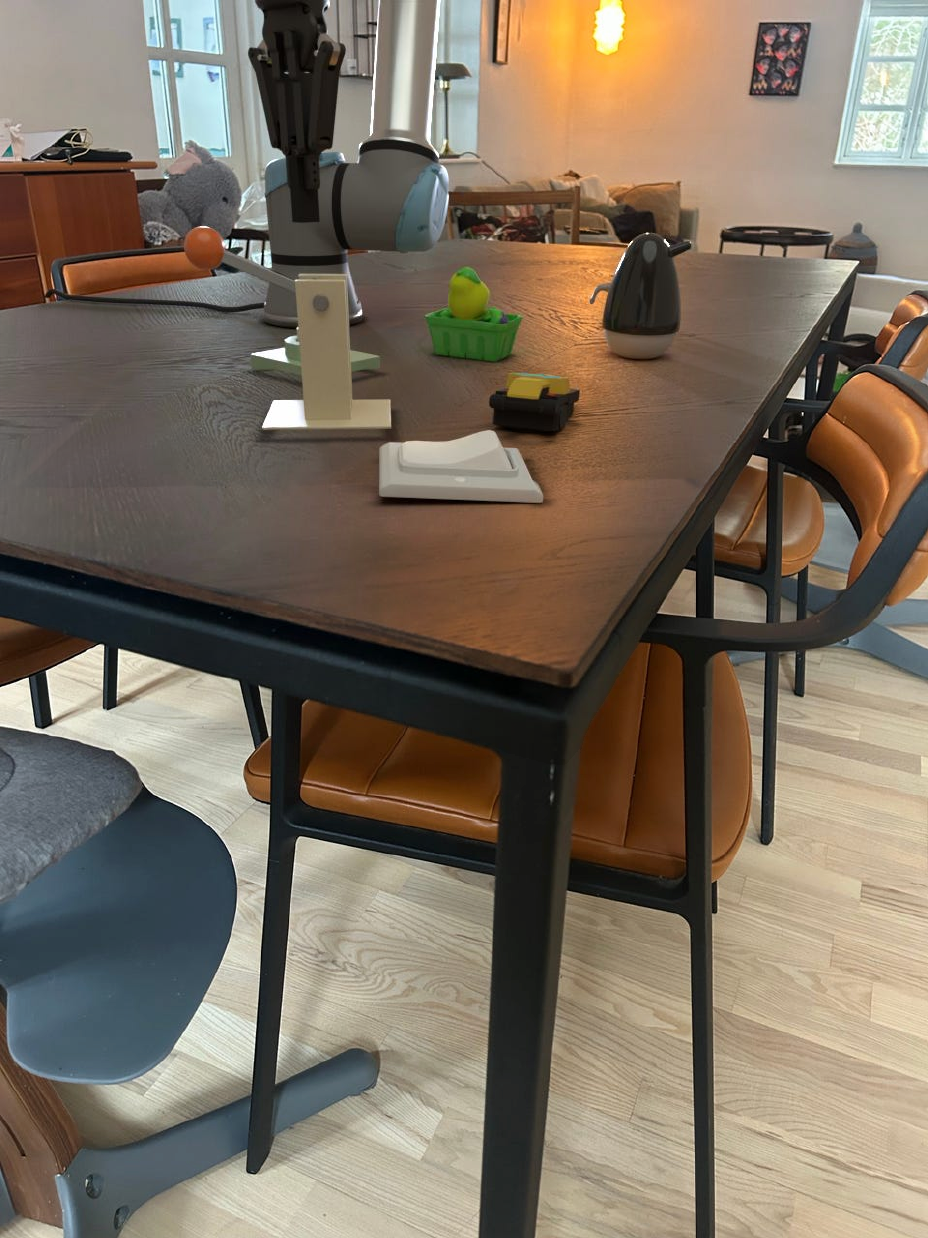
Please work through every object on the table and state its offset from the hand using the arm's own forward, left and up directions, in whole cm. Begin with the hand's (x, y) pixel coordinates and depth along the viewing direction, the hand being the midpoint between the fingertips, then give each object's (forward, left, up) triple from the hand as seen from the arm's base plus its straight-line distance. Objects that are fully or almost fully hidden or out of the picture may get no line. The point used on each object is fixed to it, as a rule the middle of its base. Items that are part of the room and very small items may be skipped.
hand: (306, 221), depth 99 cm
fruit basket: (+7, +21, -17) cm, 28 cm away
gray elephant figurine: (+11, +54, -17) cm, 58 cm away
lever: (+14, -18, -4) cm, 23 cm away
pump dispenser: (+23, +37, -17) cm, 47 cm away
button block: (0, 0, -17) cm, 17 cm away
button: (0, 0, -13) cm, 13 cm away
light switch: (+38, -18, -17) cm, 45 cm away
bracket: (+18, -14, -17) cm, 28 cm away
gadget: (+34, -1, -17) cm, 38 cm away
